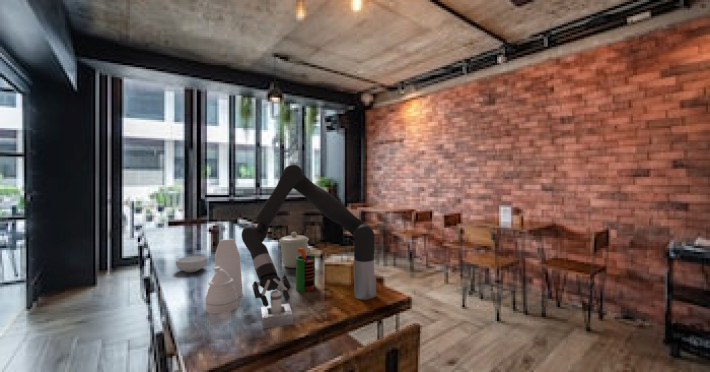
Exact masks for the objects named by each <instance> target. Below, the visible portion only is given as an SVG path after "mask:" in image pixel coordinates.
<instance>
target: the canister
mask: <svg viewBox="0 0 710 372" xmlns="http://www.w3.org/2000/svg"><path fill="white" fill-rule="evenodd" d="M309 240H310V237H309V238H308V237H307V236H305V235H298V233H297V232H296V231H292V232H291V233H290V235H286V236H282V237H281V238H279V240H278V241H279V244H280V252H281V259H282V264H283V266H284V267H286V268H290V269H296V257H297V256H301V255H302V254H301V253H298V249H299V248H304V249H305V252H306V255H308V254H307V253H308V244H309V243H308V242H309Z"/></svg>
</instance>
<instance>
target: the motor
mask: <svg viewBox="0 0 710 372" xmlns="http://www.w3.org/2000/svg"><path fill="white" fill-rule="evenodd" d="M298 253H301V254H302V255H301V256H297V257H296V268H295V290H296V291H297V292H301V293H305V292H311V291H313V290H315V286H316V256H315V255H314V254H307V255H306V252H305V249H304V248H299V249H298Z"/></svg>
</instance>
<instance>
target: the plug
mask: <svg viewBox="0 0 710 372" xmlns="http://www.w3.org/2000/svg"><path fill="white" fill-rule="evenodd" d="M269 299H270V306H271V314H278V313H282V312H281V304H282V292H281V291H278V290H272V291H271V292H270V298H269Z"/></svg>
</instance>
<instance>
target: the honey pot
mask: <svg viewBox="0 0 710 372" xmlns="http://www.w3.org/2000/svg"><path fill="white" fill-rule="evenodd" d="M213 271H214V275H213V276H212V279H210V280H209V281H208V286H209V287H208V288H207V293H206V296H205V299H204V301H205V303H204V305H205V312H206V313H208V314H211V313H214V314H213V315H219V313H221V314H226V313H229V311H230V312H233V311H234V310H236V309H237V308H238V306H239V305H238V303H239V302H238V296H237V292H236V289H235V286H234V285H233V283H232V282H233V279H232V278H230V276H229V275H228V273H227V272H226V271H225V270H223V269H220V267H215V266H214V267H213ZM215 272H216V273H215ZM225 312H226V313H225Z"/></svg>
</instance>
